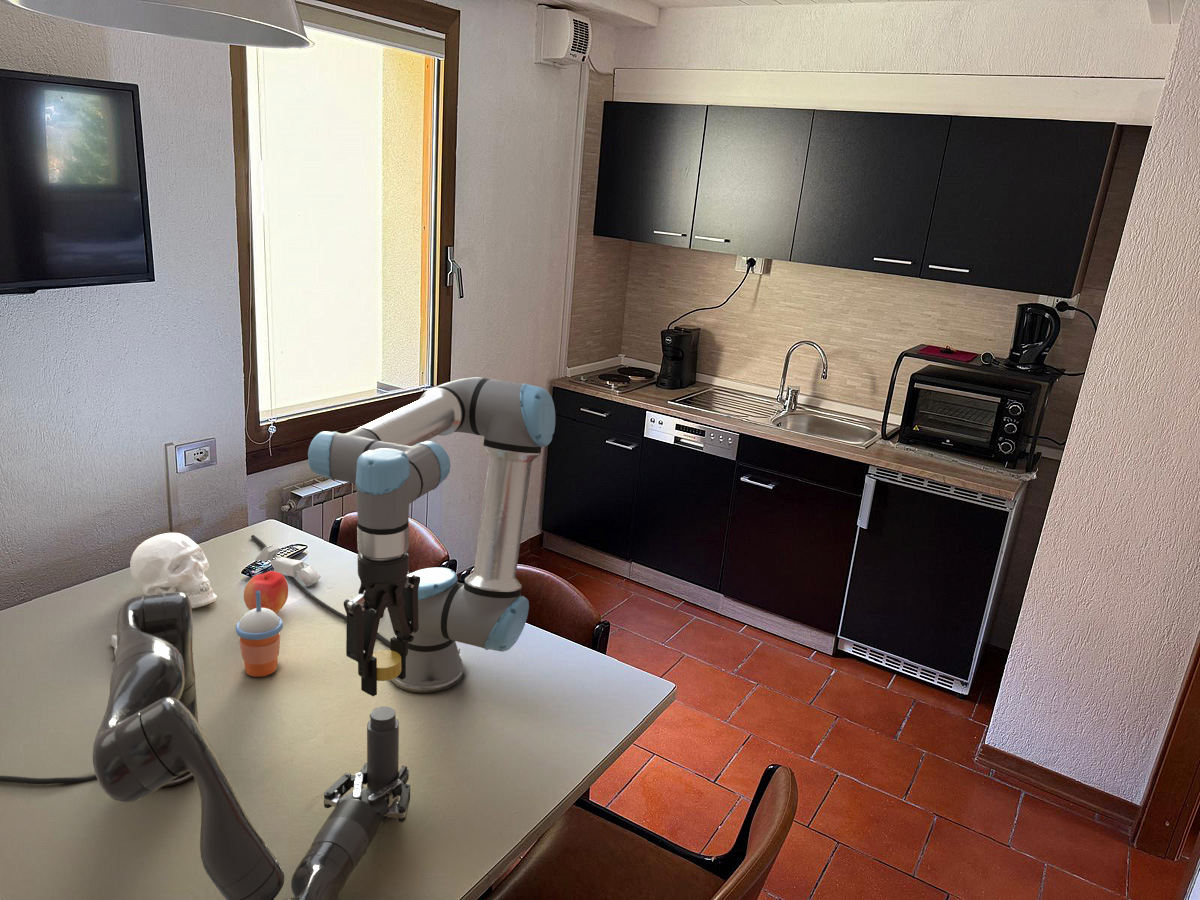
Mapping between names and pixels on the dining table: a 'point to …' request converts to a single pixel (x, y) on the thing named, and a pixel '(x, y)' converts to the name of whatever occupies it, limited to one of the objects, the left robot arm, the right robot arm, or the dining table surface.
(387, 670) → the lid
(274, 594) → the apple
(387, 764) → the jar
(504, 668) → the dining table surface
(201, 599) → the skull
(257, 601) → the cup with straw
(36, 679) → the dining table surface
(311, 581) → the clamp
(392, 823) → the dining table surface
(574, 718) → the dining table surface
